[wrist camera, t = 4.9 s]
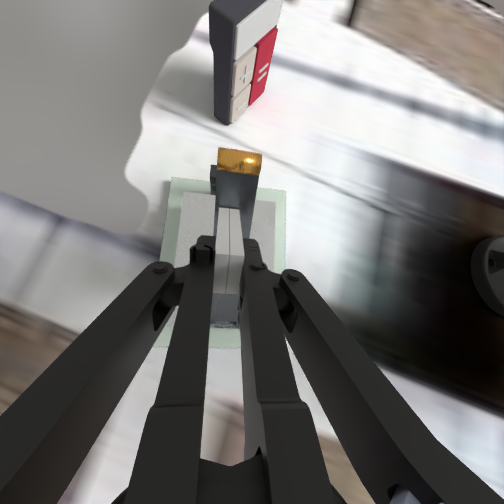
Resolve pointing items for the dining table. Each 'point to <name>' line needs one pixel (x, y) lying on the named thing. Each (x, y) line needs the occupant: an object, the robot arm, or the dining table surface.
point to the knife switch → (202, 223)
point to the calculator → (241, 52)
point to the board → (170, 237)
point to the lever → (234, 197)
